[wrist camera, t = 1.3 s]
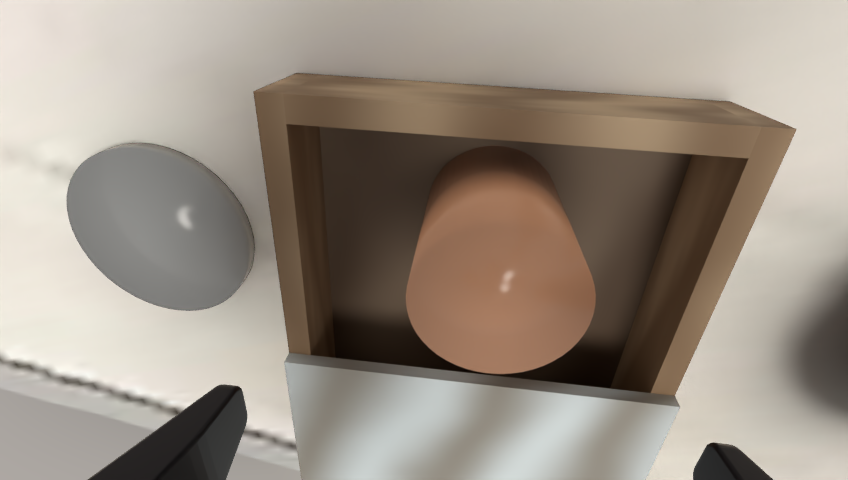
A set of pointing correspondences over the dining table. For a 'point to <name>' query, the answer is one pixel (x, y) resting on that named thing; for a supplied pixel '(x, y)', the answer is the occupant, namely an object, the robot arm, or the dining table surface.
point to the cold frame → (596, 234)
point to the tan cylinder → (498, 266)
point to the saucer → (160, 226)
